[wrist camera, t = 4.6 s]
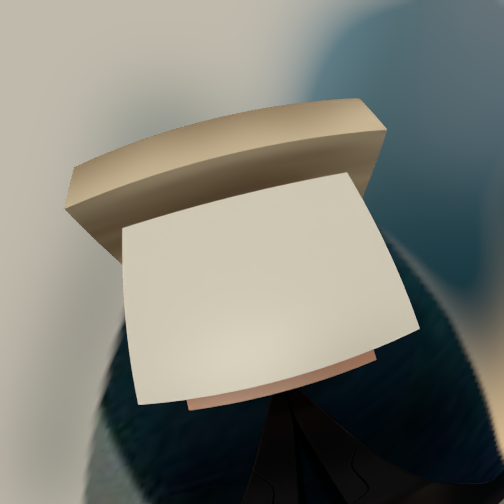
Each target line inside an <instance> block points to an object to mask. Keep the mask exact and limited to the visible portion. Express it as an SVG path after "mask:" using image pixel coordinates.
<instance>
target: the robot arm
mask: <svg viewBox="0 0 504 504" xmlns="http://www.w3.org/2000/svg"><path fill="white" fill-rule="evenodd" d="M298 440H299V441H298ZM299 443H300V445H301V447H302V449H303V452H304V454H305V456H306V458H307V460H308V462H309V464H310V466H311V469H312V471H313V473H314V475H315V477H316V479H317V481H318V483H319V485H320V487H321V489H322V491H323V493H324V495H325V497H326V499H327V501H328V503H329V504H504V471H502V472H501V473H500V474H499V475H498V476H497V477H496V478H495V479H493V480H492V481H489V482H486V483H481V484H459V483H443V482H433V481H429V480H425V479H422V478H420V477H418V476H415V475H413V474H411V473H409V472H407V471H405V470H403V469H402V468H400V467H398V466H396V465H394V464H392V463H390V462H389V461H387V460H385V459H384V458H382V457H380V456H379V455H377V454H376V453H374V452H373V451H372V450H370V449H369V448H367V447H366V446H365V445H364V444H362V443H361V442H360V441H359V442H358V440H357V439H356V438H355V437H354V436H353V435H351V434H350V433H349V432H348V431H347V430H345V429H344V428H343V427H342V426H341V425H340V424H338V423H337V422H336V421H335V420H334V419H333V418H331V417H330V416H329V415H328V414H327V413H326V412H325V411H323V410H322V409H321V408H320V407H319V406H318V405H317V404H316V403H314V402H313V401H312V400H311V399H310V398H309V397H308V396H307V395H306V394H304V393H303V392H302V391H301V390H300V389H299V388H294V389H291V390H287V391H283V392H280V393H276V394H272V397H271V401H270V405H269V409H268V414H267V418H266V422H265V425H264V429H263V433H262V437H261V441H260V445H259V448H258V452H257V456H256V459H255V463H254V466H253V472H252V473H251V476H250V480H249V483H248V486H247V489H246V492H245V494H244V496H243V499H242V501H241V503H240V504H307V500H306V492H305V484H304V476H303V468H302V461H301V453H300V446H299Z"/></svg>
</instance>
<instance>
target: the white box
mask: <svg viewBox="0 0 504 504" xmlns="http://www.w3.org/2000/svg"><path fill="white" fill-rule="evenodd" d="M122 266H123V289H124V290H123V291H124V306H125V318H126V328H127V337H128V346H129V353H130V360H131V367H132V373H133V379H134V385H135V390H136V395H137V400H138V405H142V404H154V403H164V402H172V401H180V400H187V404H188V408H189V410H195V409H202V408H209V407H215V406H221V405H226V404H231V403H236V402H241V401H246V400H251V399H255V398H259V397H264V396H268V395H272V394H276V393H280V392H283V391H287V390H291V389H294V388H298V387H301V386H304V385H308V384H311V383H314V382H317V381H320V380H323V379H326V378H329V377H332V376H335V375H338V374H341V373H344V372H346V371H349V370H352V369H354V368H357V367H360V366H362V365H365V364H367V363H370V362H372V361H375V360H376V356H375V353H374V350H373V349H375V348H378V347H380V346H383V345H385V344H387V343H390V342H392V341H394V340H397V339H399V338H401V337H403V336H405V335H408V334H410V333H412V332H414V331H416V330H418V329H420V328H419V325H418V322H417V319H416V317H415V314H414V311H413V308H412V306H411V303H410V301H409V298H408V295H407V293H406V290H405V288H404V285H403V283H402V281H401V278H400V276H399V273H398V271H397V269H396V266H395V264H394V262H393V260H392V257H391V255H390V253H389V251H388V249H387V247H386V245H385V242H384V240H383V238H382V236H381V234H380V232H379V230H378V228H377V226H376V224H375V222H374V220H373V218H372V216H371V214H370V212H369V211H368V209H367V207H366V205H365V203H364V201H363V199H362V198H361V196H360V194H359V192H358V190H357V189H356V187H355V185H354V183H353V182H352V180H351V178H350V176H349V175H348V173H347V172H346V173H341V174H335V175H330V176H325V177H319V178H314V179H309V180H304V181H300V182H295V183H290V184H285V185H281V186H276V187H272V188H267V189H263V190H259V191H255V192H250V193H246V194H242V195H238V196H234V197H230V198H226V199H222V200H218V201H214V202H210V203H207V204H203V205H199V206H195V207H192V208H188V209H185V210H181V211H178V212H174V213H171V214H167V215H164V216H160V217H157V218H154V219H150V220H147V221H144V222H140V223H137V224H134V225H131V226H128V227H125V228H122Z"/></svg>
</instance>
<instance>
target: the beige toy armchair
mask: <svg viewBox="0 0 504 504" xmlns="http://www.w3.org/2000/svg"><path fill="white" fill-rule="evenodd" d="M386 131H387V129H386V128H385V127H384V126H383V124H382V123H381V122H380V121H379V120H378V118H376V116H375V115H374V114H373V113H372V112H371V111H370V110H369V108H368V107H367V106H366V105H365V104H364V103H363V102H362V101H361V100H360V99H359V98H356V99H339V100H325V101H315V102H305V103H298V104H290V105H282V106H276V107H270V108H263V109H258V110H252V111H247V112H242V113H237V114H232V115H228V116H223V117H219V118H215V119H211V120H207V121H203V122H199V123H195V124H192V125H188V126H184V127H181V128H178V129H174V130H171V131H168V132H164V133H161V134H158V135H155V136H152V137H149V138H146V139H143V140H140V141H137V142H135V143H132V144H129V145H126V146H124V147H121V148H119V149H116V150H114V151H111V152H108V153H106V154H104V155H101V156H99V157H97V158H94V159H92V160H90V161H87V162H85V163H83V164H81V165H78V166H76V167H74V170H73V174H72V179H71V182H70V186H69V191H68V195H67V200H66V205H65V209H66V211H67V212H68V213H69V214H70V215H71V216H72V217H73V218H74V219H75V220H76V221H77V222H78V223H79V224H80V225H81V226H82V227H83V228H84V229H85V230H86V231H87V232H88V233H89V234H90V235H91V236H92V237H93V238H94V239H95V240H96V241H97V242H98V243H99V244H101V245H102V246H103V247H104V248H105V249H106V250H107V251H108V252H109V253H110V254H111V255H112V256H113V257H115V258H116V259H117V260H118V261H119V262H120V263H121V264H122V228H125V227H128V226H131V225H134V224H137V223H140V222H144V221H147V220H150V219H154V218H157V217H160V216H164V215H167V214H171V213H174V212H178V211H181V210H185V209H188V208H192V207H195V206H199V205H203V204H207V203H210V202H214V201H218V200H222V199H226V198H230V197H234V196H238V195H242V194H246V193H250V192H255V191H259V190H263V189H267V188H272V187H276V186H281V185H285V184H290V183H295V182H300V181H304V180H309V179H314V178H319V177H325V176H330V175H335V174H341V173H346V172H347V173H348V175H349V176H350V178H351V180H352V182H353V183H354V185H355V187H356V189H357V190H358V192H359V194H360V196H361V198H362V197H363V195H364V192H365V190H366V187H367V184H368V182H369V179H370V177H371V174H372V171H373V169H374V166H375V163H376V160H377V158H378V155H379V152H380V149H381V146H382V144H383V141H384V138H385V135H386Z"/></svg>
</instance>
